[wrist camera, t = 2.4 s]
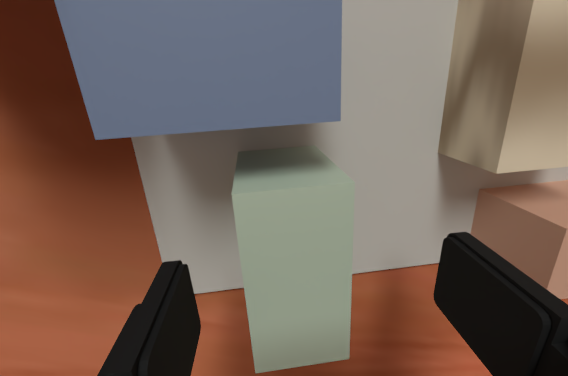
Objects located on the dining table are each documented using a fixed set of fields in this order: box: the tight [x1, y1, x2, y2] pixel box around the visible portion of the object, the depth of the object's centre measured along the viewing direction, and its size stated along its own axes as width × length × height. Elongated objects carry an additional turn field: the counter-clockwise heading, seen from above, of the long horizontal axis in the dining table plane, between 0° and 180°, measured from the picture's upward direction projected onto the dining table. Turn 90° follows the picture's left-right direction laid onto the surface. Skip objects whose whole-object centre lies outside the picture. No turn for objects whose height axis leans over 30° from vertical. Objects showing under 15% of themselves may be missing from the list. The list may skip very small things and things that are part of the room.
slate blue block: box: [54, 0, 342, 140], centre depth 10 cm, size 7×4×6 cm, turn 94°
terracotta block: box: [470, 180, 568, 299], centre depth 16 cm, size 4×6×5 cm, turn 93°
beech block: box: [438, 0, 568, 174], centre depth 13 cm, size 8×6×4 cm
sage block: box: [231, 145, 355, 373], centre depth 13 cm, size 8×4×6 cm, turn 4°
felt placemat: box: [131, 0, 568, 294], centre depth 15 cm, size 16×26×1 cm, turn 93°
